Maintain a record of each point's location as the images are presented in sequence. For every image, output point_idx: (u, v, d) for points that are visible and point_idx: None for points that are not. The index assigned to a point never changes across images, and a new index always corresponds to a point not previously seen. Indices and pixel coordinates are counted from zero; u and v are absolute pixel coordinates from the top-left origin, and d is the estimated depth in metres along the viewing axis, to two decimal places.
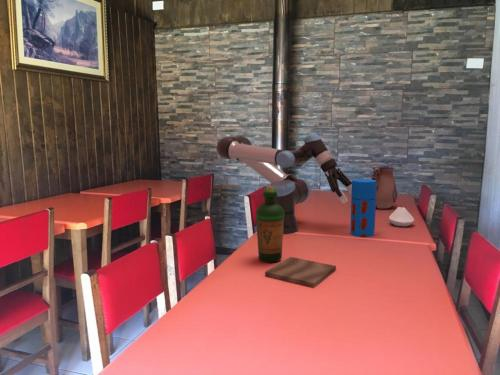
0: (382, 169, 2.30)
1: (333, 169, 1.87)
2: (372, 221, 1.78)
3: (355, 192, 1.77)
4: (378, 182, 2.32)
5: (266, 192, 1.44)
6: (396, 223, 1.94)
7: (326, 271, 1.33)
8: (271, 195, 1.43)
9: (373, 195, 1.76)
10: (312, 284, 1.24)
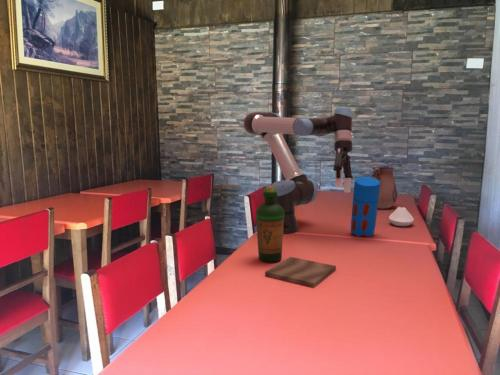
0: (382, 169, 2.30)
1: (345, 152, 1.71)
2: (373, 222, 1.76)
3: (358, 195, 1.72)
4: None
5: (266, 192, 1.44)
6: (395, 223, 1.95)
7: (326, 271, 1.33)
8: (271, 195, 1.43)
9: (376, 198, 1.71)
10: (312, 284, 1.24)
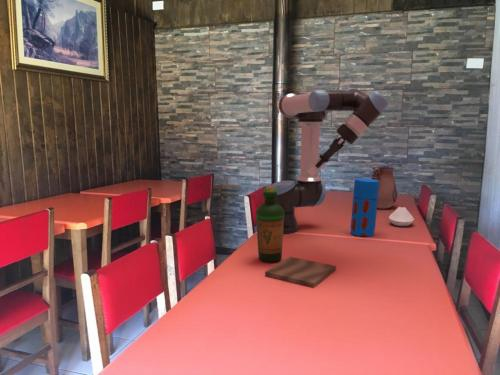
0: (382, 169, 2.30)
1: None
2: (373, 221, 1.78)
3: (358, 192, 1.77)
4: None
5: (266, 192, 1.44)
6: (395, 223, 1.95)
7: (326, 271, 1.33)
8: (271, 195, 1.43)
9: (375, 195, 1.76)
10: (312, 284, 1.24)
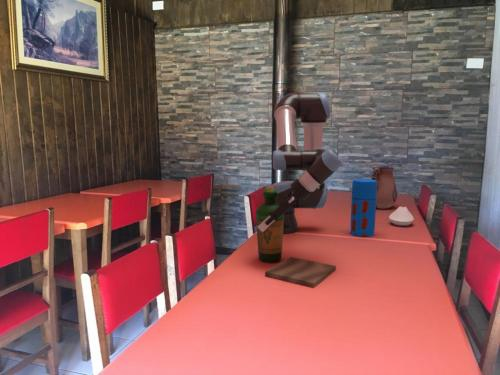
0: (382, 169, 2.30)
1: None
2: (372, 221, 1.78)
3: (356, 192, 1.77)
4: (378, 182, 2.32)
5: (266, 192, 1.44)
6: (395, 222, 1.96)
7: (326, 271, 1.33)
8: (271, 195, 1.43)
9: (374, 195, 1.76)
10: (312, 284, 1.24)
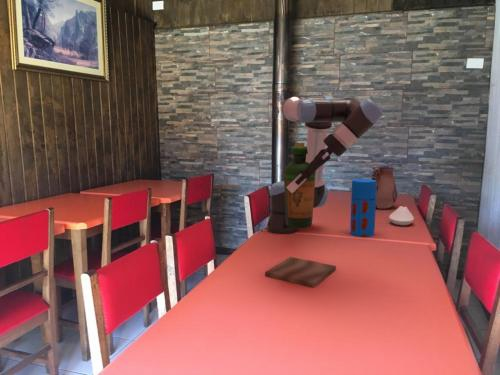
0: (382, 169, 2.30)
1: None
2: (372, 221, 1.78)
3: (356, 192, 1.77)
4: (378, 182, 2.32)
5: (296, 148, 1.28)
6: (395, 222, 1.97)
7: (326, 271, 1.33)
8: (301, 152, 1.28)
9: (373, 195, 1.76)
10: (312, 284, 1.24)
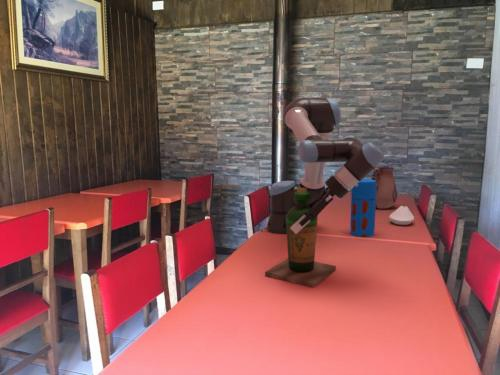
0: (382, 169, 2.30)
1: None
2: (372, 221, 1.78)
3: (356, 192, 1.77)
4: (378, 182, 2.32)
5: (298, 194, 1.30)
6: (395, 221, 1.97)
7: (326, 271, 1.33)
8: (304, 198, 1.29)
9: (373, 195, 1.76)
10: (312, 284, 1.24)
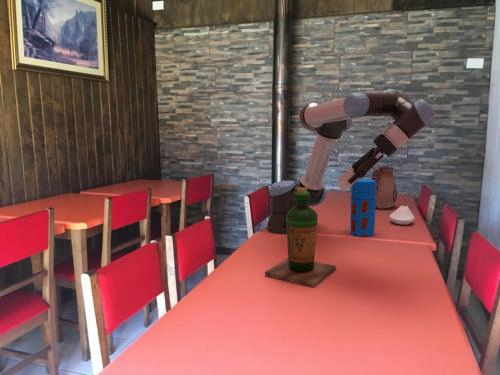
0: (382, 169, 2.30)
1: None
2: (372, 221, 1.78)
3: (356, 192, 1.77)
4: (378, 182, 2.32)
5: (298, 194, 1.30)
6: (395, 221, 1.98)
7: (326, 271, 1.33)
8: (304, 198, 1.29)
9: (373, 195, 1.76)
10: (312, 284, 1.24)
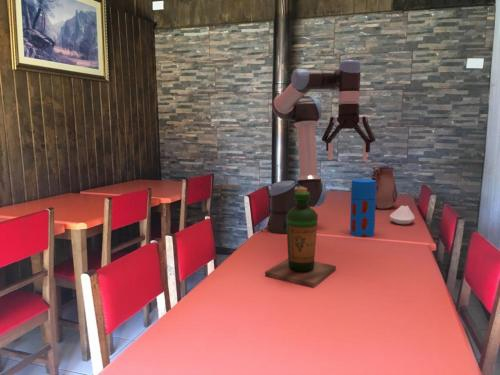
0: (382, 169, 2.30)
1: None
2: (372, 221, 1.78)
3: (356, 192, 1.77)
4: (378, 182, 2.32)
5: (298, 194, 1.30)
6: (395, 221, 1.99)
7: (326, 271, 1.33)
8: (304, 198, 1.29)
9: (373, 195, 1.76)
10: (312, 284, 1.24)
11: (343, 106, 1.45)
